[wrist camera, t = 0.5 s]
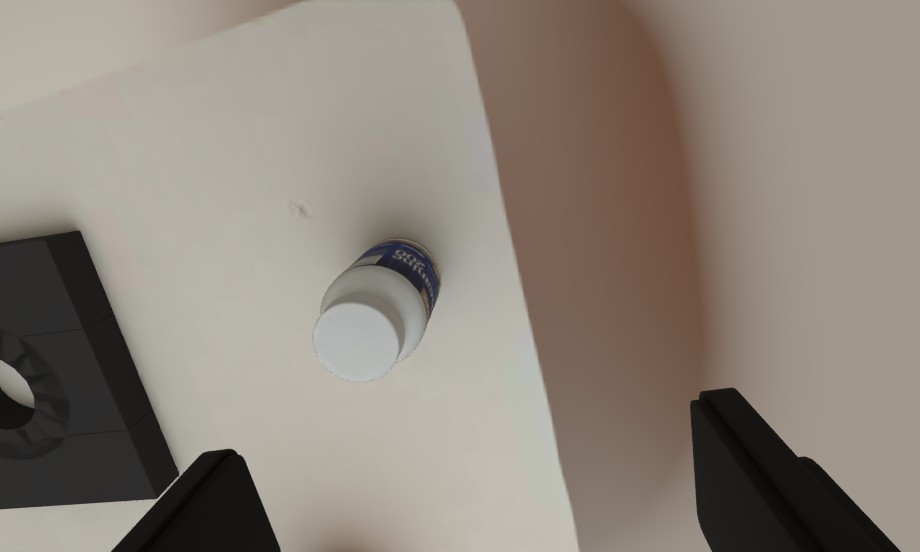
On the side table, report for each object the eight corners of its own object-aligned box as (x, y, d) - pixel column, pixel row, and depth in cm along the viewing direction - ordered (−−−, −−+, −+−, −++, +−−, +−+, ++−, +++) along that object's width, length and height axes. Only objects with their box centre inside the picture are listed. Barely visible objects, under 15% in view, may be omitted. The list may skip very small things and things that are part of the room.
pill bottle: (457, 293, 30) (437, 368, 20) (388, 328, 31) (339, 413, 22) (414, 221, 28) (373, 265, 19) (344, 260, 30) (273, 319, 20)
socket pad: (-118, 260, 33) (-166, 271, 30) (79, 230, 31) (44, 239, 28) (7, 487, 38) (-26, 511, 36) (179, 475, 36) (157, 499, 34)
